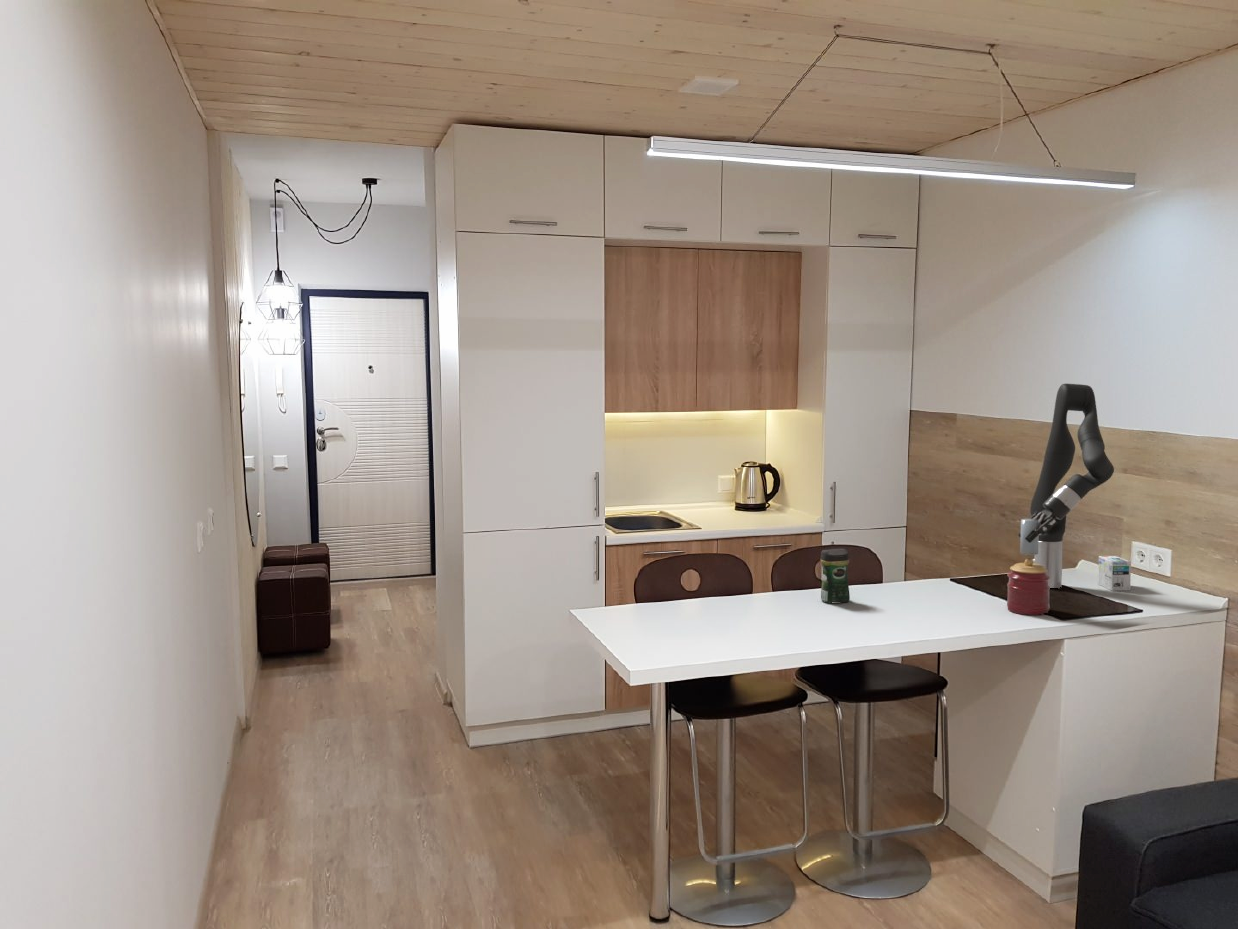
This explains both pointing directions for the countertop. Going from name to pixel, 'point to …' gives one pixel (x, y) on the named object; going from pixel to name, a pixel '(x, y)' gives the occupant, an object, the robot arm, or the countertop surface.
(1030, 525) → the grey rounded bar
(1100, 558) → the light bulb box
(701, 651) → the countertop surface
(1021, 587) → the canister
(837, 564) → the coffee jar
